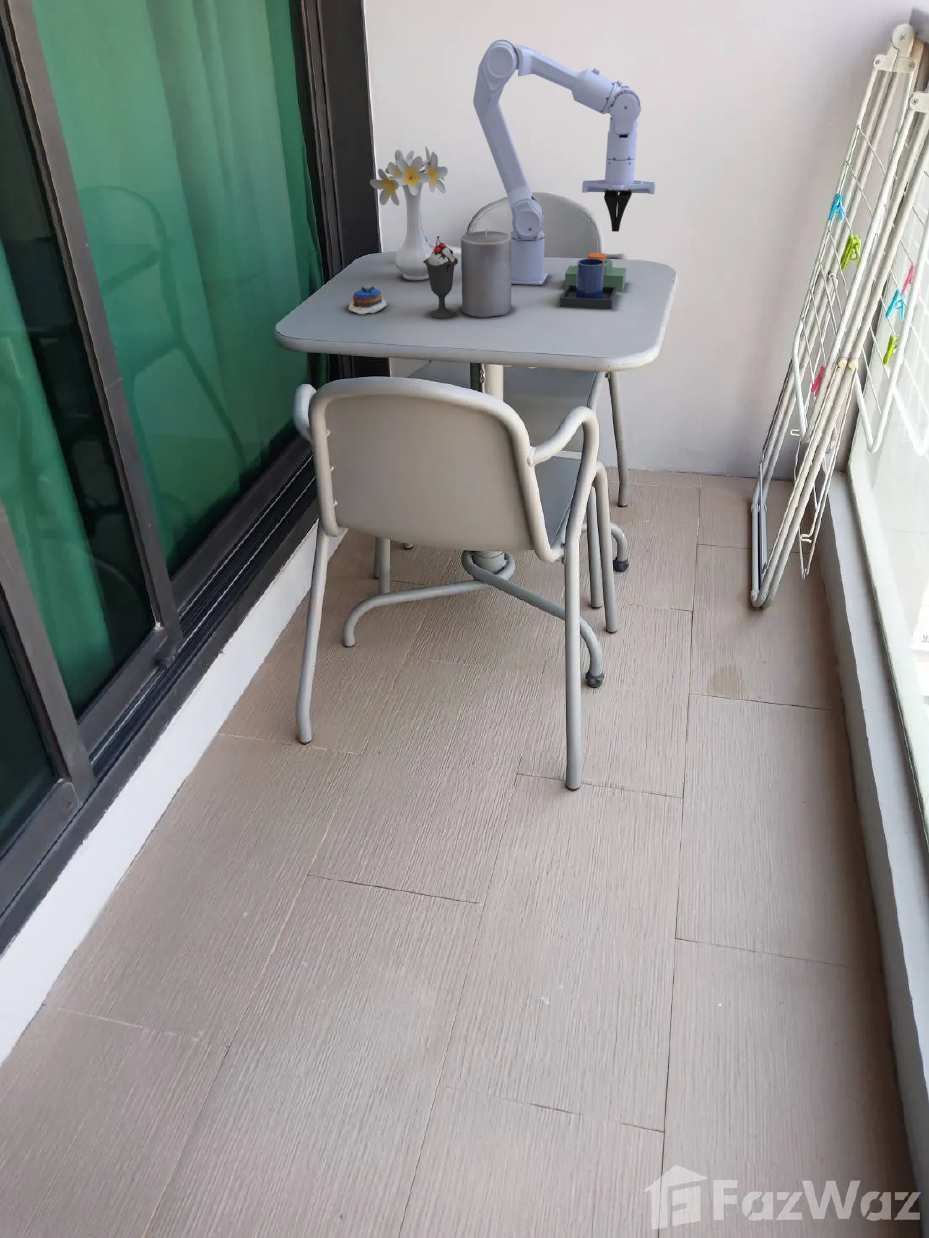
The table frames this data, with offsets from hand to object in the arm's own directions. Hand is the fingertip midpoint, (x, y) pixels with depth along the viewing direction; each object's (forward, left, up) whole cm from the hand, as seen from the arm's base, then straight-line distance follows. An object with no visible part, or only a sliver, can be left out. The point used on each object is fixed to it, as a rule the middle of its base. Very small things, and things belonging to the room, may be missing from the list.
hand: (615, 230), depth 187 cm
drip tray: (-3, -16, -10) cm, 19 cm away
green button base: (-3, -6, -10) cm, 12 cm away
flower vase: (-42, -5, -10) cm, 43 cm away
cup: (-3, -16, -9) cm, 19 cm away
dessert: (-46, -27, -10) cm, 55 cm away
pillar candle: (-22, -25, -10) cm, 35 cm away
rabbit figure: (-46, +11, -10) cm, 48 cm away
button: (-3, -5, -5) cm, 8 cm away
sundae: (-30, -29, -10) cm, 43 cm away
